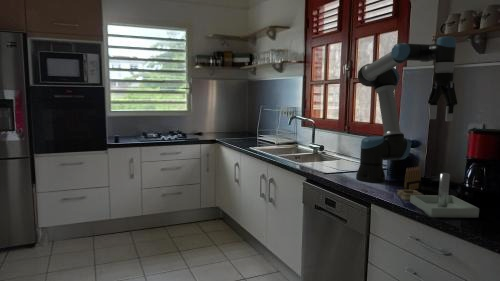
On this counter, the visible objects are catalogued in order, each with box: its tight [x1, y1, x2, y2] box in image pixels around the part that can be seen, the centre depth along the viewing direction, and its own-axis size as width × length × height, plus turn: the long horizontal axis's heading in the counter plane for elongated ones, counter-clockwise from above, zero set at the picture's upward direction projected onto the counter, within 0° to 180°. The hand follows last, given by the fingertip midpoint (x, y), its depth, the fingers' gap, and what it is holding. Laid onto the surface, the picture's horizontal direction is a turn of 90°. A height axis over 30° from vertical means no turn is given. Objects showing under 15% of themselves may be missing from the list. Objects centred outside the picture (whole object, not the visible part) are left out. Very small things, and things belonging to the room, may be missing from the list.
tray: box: [409, 194, 480, 218], centre depth 146 cm, size 18×18×4 cm
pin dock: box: [396, 189, 424, 201], centre depth 162 cm, size 8×8×3 cm
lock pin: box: [438, 172, 451, 208], centre depth 146 cm, size 4×4×14 cm
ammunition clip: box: [402, 165, 422, 191], centre depth 175 cm, size 11×2×12 cm, turn 119°
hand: (440, 120), depth 165 cm, fingers open, 13 cm apart
